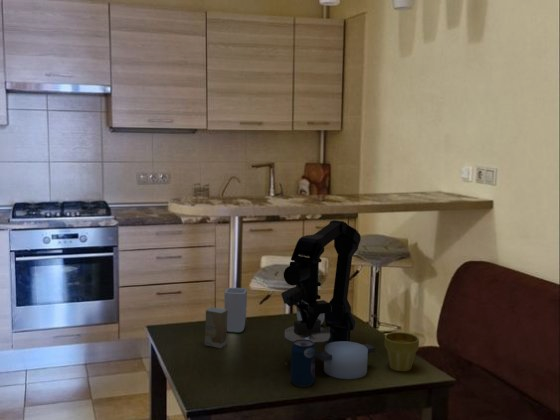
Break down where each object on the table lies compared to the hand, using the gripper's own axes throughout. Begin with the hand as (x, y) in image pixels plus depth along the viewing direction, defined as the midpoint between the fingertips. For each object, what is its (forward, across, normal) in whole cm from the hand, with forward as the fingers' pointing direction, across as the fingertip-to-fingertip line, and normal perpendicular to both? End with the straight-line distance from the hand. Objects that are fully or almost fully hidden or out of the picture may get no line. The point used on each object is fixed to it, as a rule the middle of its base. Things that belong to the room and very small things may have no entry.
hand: (307, 328), depth 199 cm
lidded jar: (+12, -33, +19) cm, 40 cm away
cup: (+12, -39, -8) cm, 41 cm away
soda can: (+12, +12, -8) cm, 18 cm away
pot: (+12, +9, +8) cm, 17 cm away
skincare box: (+12, -27, -20) cm, 36 cm away
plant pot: (+12, +13, +26) cm, 31 cm away
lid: (+2, 0, 0) cm, 3 cm away
